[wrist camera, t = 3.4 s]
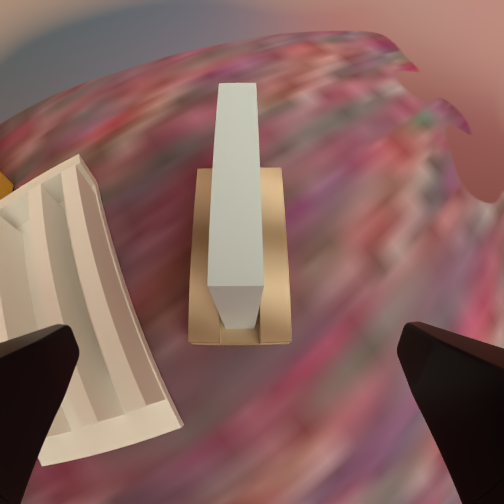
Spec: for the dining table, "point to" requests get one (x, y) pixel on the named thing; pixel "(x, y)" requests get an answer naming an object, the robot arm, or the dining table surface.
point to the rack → (80, 313)
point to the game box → (5, 186)
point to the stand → (274, 265)
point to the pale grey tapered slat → (236, 209)
